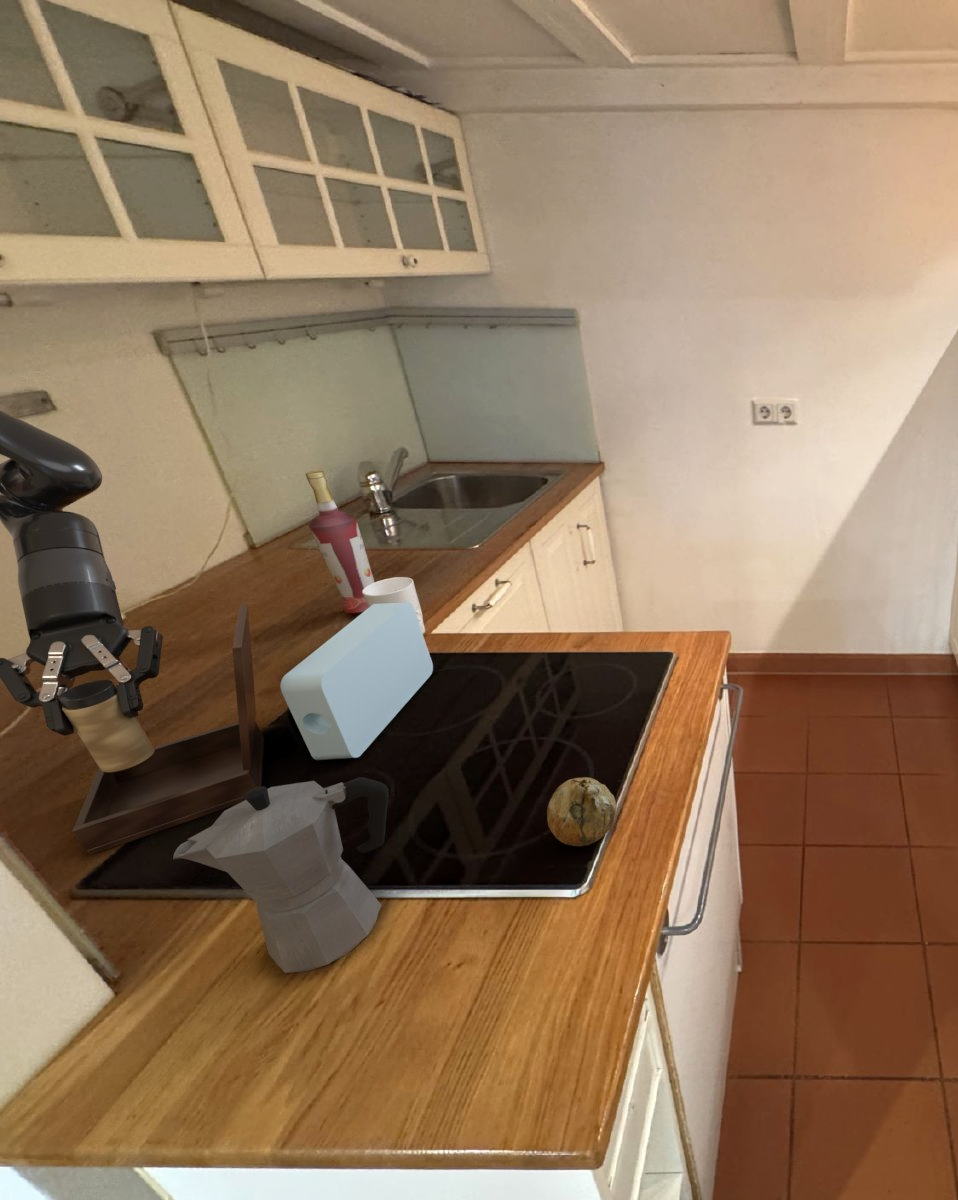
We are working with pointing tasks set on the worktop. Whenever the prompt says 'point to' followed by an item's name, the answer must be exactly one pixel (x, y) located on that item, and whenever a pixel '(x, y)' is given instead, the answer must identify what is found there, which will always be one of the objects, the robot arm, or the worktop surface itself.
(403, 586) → the white cup
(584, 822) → the onion
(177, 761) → the chest
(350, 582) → the liquor
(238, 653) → the chest lid
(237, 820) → the coffeepot
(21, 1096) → the worktop surface
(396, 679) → the pale blue rectangular block
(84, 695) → the beige jar
